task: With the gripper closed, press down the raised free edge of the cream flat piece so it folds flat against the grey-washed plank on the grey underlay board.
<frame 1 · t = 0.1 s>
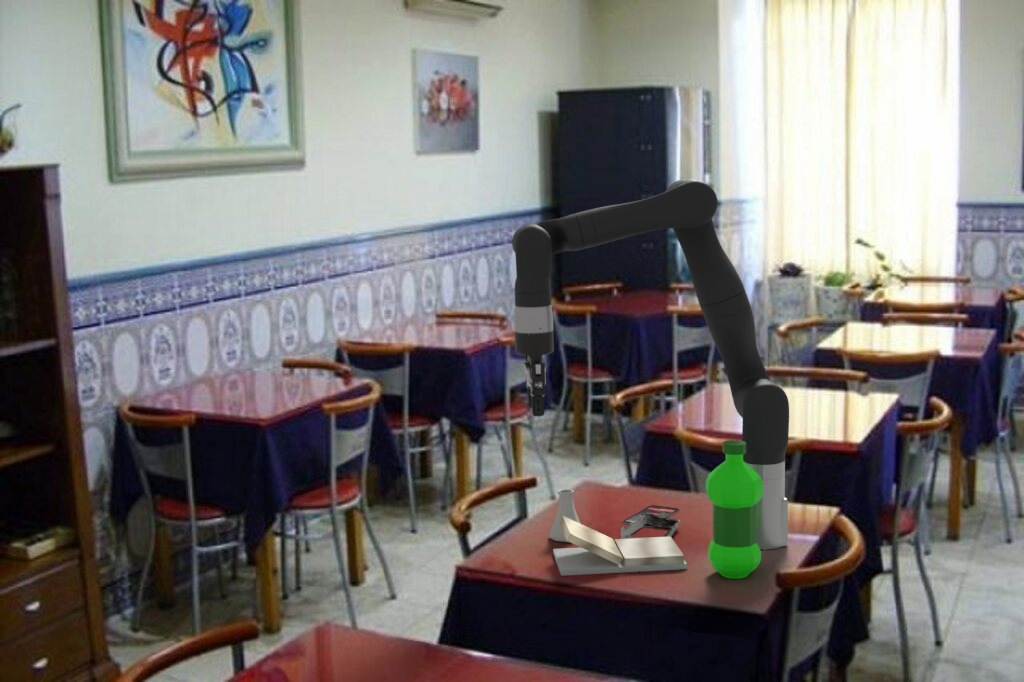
hand: (535, 411, 232), 29 cm above the table, fingers open, 8 cm apart
cream flat piece: (590, 539, 230), point 5 cm above the table, hinge at 28.0°
flask: (567, 538, 247), on the table
plastic bottle: (734, 574, 222), on the table
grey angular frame: (653, 537, 247), on the table, touching smartphone
underlay board: (618, 561, 231), on the table
laid plank: (648, 554, 231), resting on underlay board
smartphone: (651, 519, 260), on the table, touching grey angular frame
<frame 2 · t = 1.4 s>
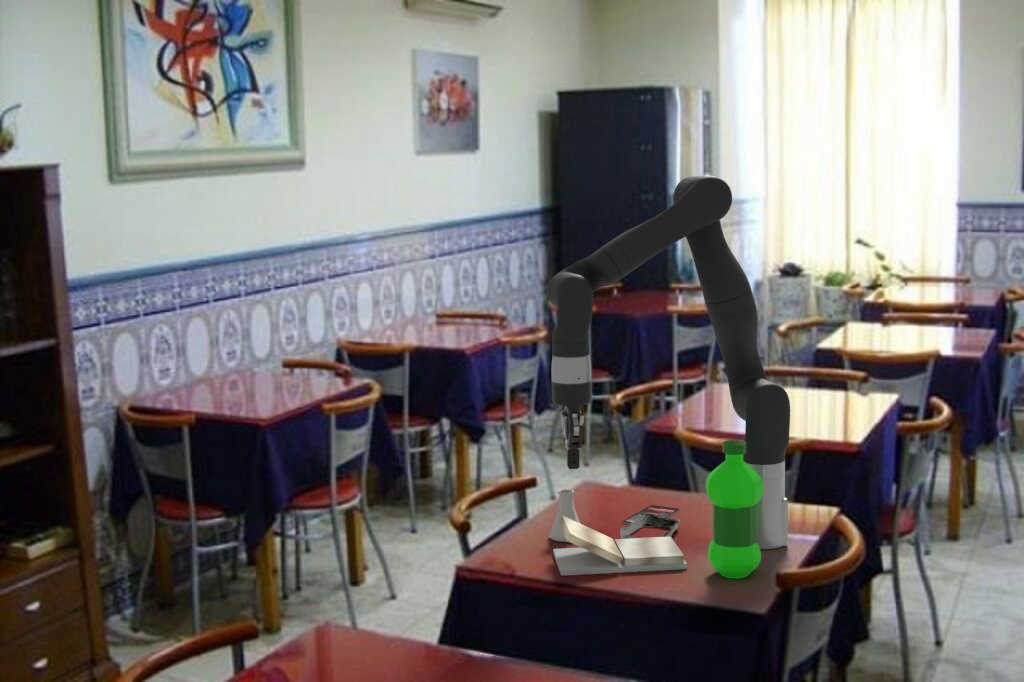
hand: (573, 467, 228), 19 cm above the table, fingers closed
nothing on the table moved.
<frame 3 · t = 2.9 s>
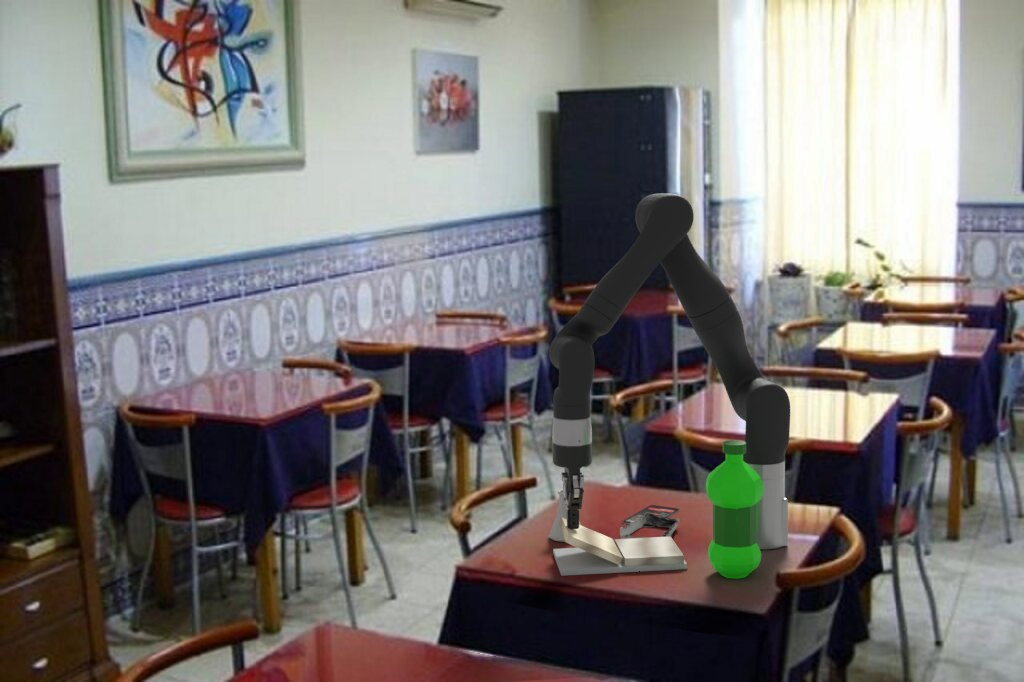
hand: (573, 527, 229), 7 cm above the table, fingers closed
cream flat piece: (589, 540, 230), point 4 cm above the table, hinge at 25.9°, touching gripper
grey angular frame: (652, 536, 247), on the table
smartphone: (651, 519, 260), on the table
everything else where it was.
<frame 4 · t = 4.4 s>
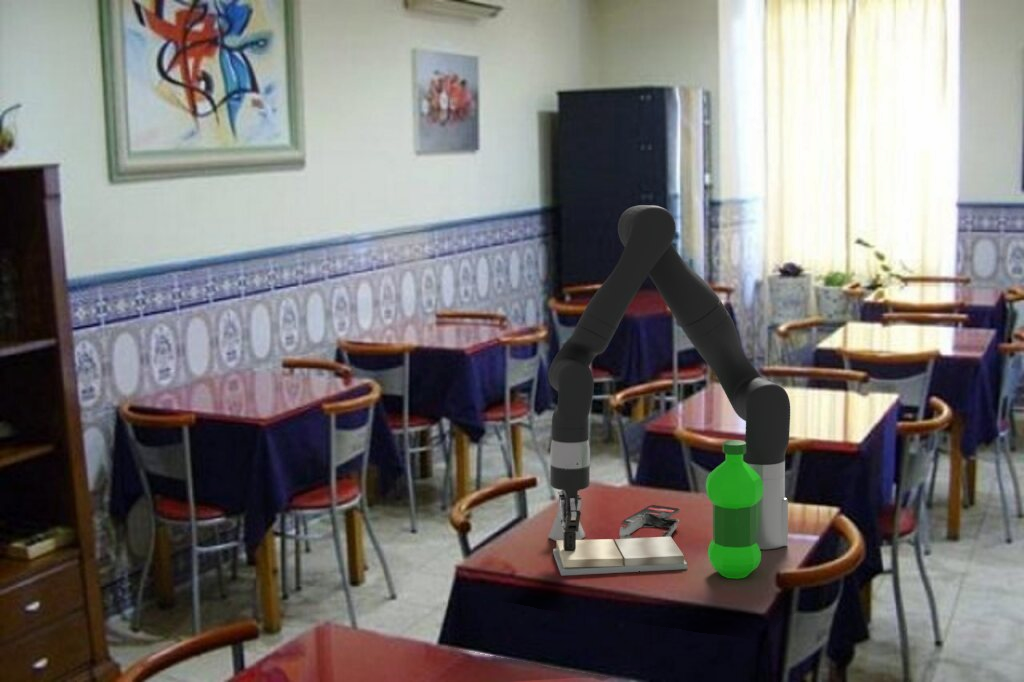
hand: (569, 549, 230), 3 cm above the table, fingers closed
cream flat piece: (588, 552, 230), point 2 cm above the table, hinge at 1.6°, touching gripper
everything else where it was.
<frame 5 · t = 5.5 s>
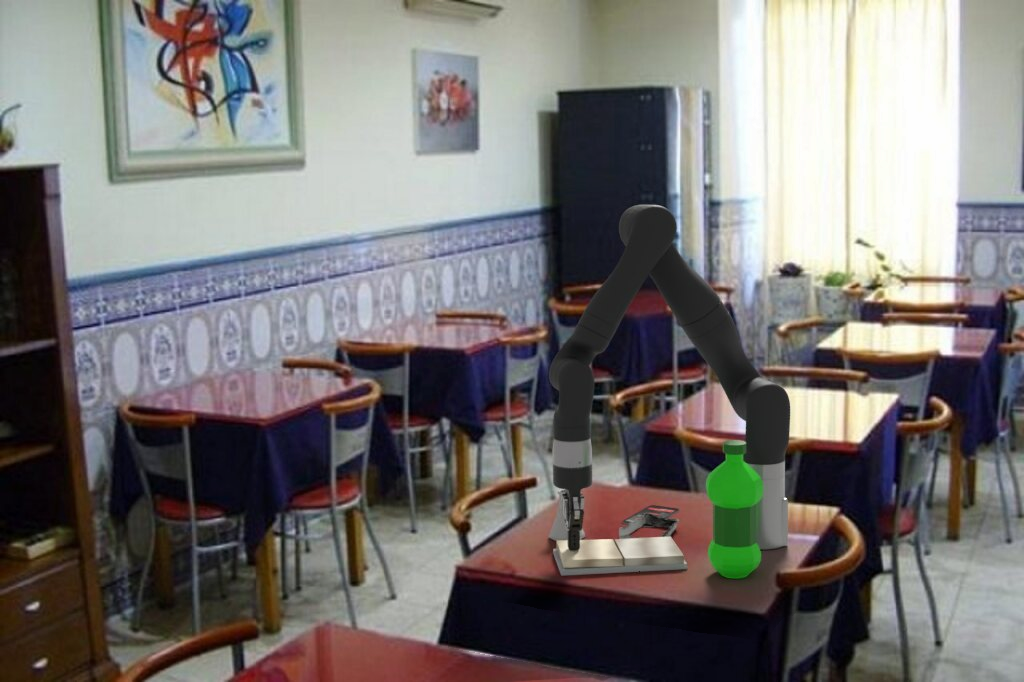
hand: (573, 548, 230), 3 cm above the table, fingers closed
cream flat piece: (588, 553, 230), point 2 cm above the table, hinge at 1.5°
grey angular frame: (652, 537, 247), on the table, touching smartphone
smartphone: (651, 519, 260), on the table, touching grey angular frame
everything else where it was.
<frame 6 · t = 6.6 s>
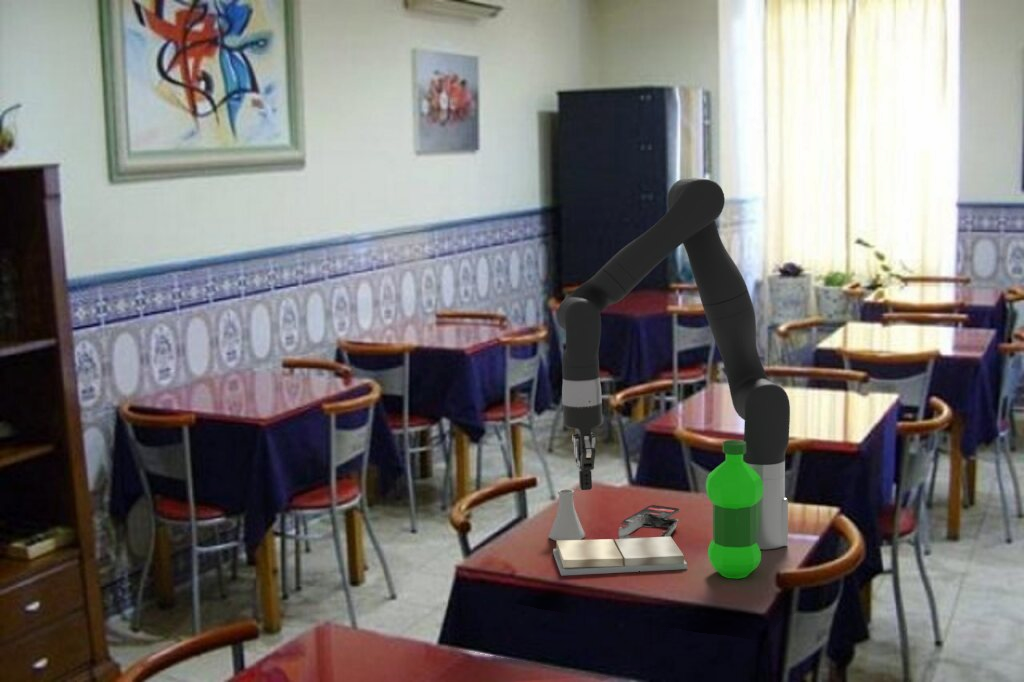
hand: (585, 488, 231), 14 cm above the table, fingers closed
nothing on the table moved.
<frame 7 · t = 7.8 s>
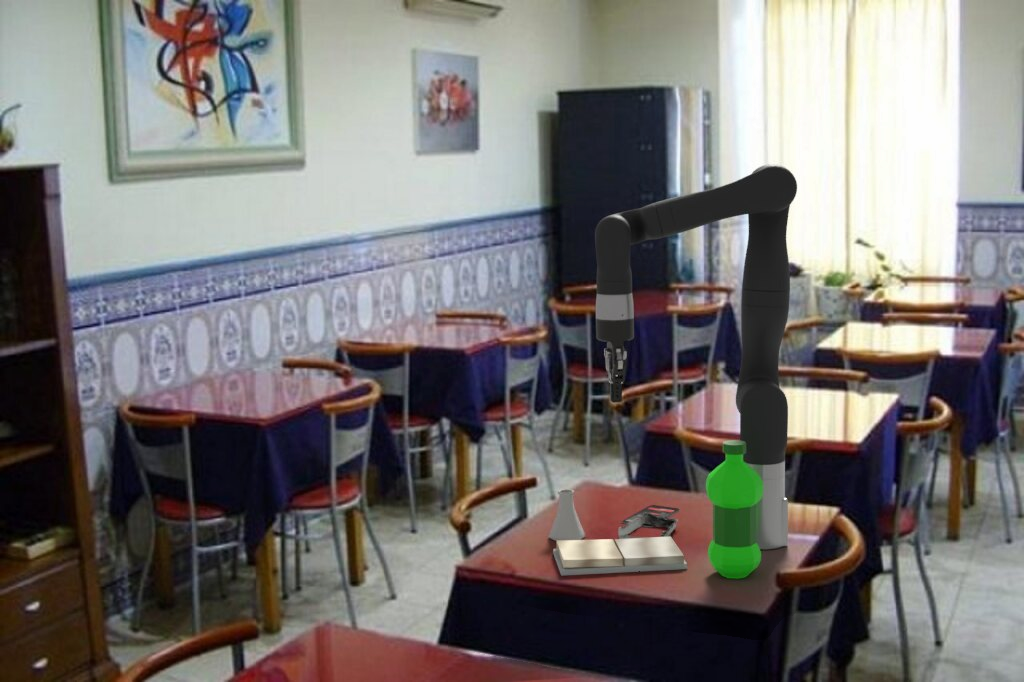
hand: (616, 401, 239), 29 cm above the table, fingers closed
nothing on the table moved.
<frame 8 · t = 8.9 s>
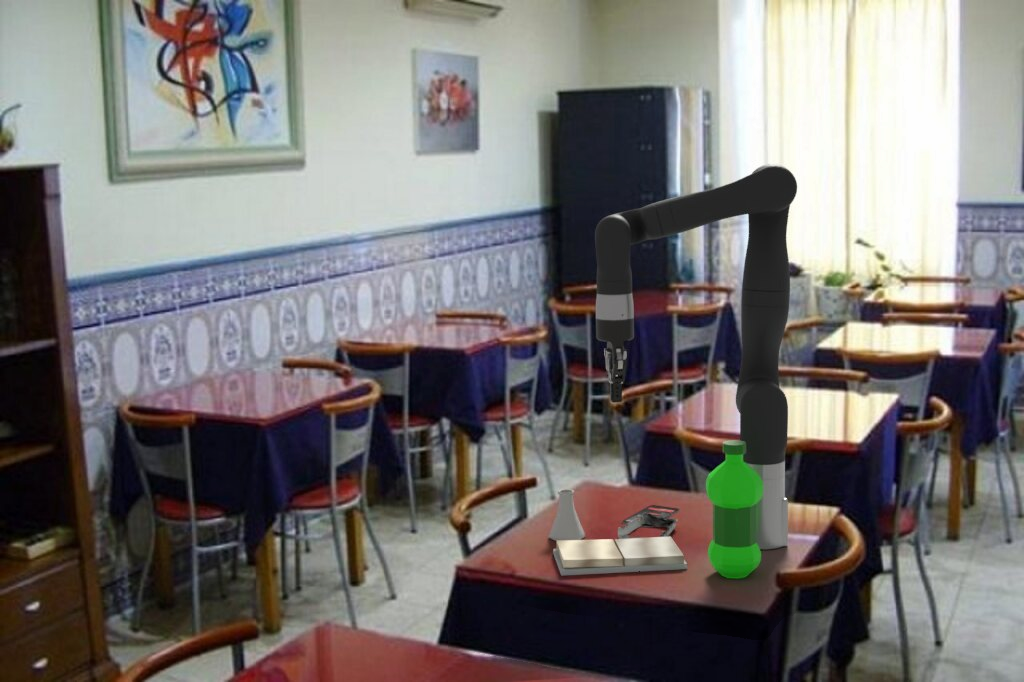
hand: (616, 401, 239), 29 cm above the table, fingers closed
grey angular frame: (650, 536, 248), on the table
smartphone: (651, 519, 260), on the table
everything else where it was.
at the end: cream flat piece at +2° (first picture: +28°); the gripper is holding nothing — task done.
